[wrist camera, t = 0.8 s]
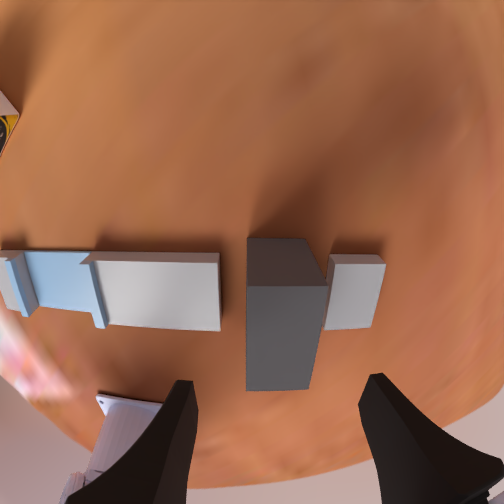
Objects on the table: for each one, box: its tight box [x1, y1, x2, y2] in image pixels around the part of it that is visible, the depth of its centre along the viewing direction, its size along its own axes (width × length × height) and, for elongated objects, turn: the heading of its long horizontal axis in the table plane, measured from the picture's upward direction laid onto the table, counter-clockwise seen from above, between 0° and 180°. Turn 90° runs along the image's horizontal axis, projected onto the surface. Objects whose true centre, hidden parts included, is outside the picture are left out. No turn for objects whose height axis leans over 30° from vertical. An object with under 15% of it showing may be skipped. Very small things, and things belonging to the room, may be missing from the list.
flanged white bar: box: [0, 250, 386, 331], centre depth 18 cm, size 5×30×2 cm, turn 89°
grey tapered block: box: [246, 238, 329, 391], centre depth 17 cm, size 7×4×6 cm, turn 179°
